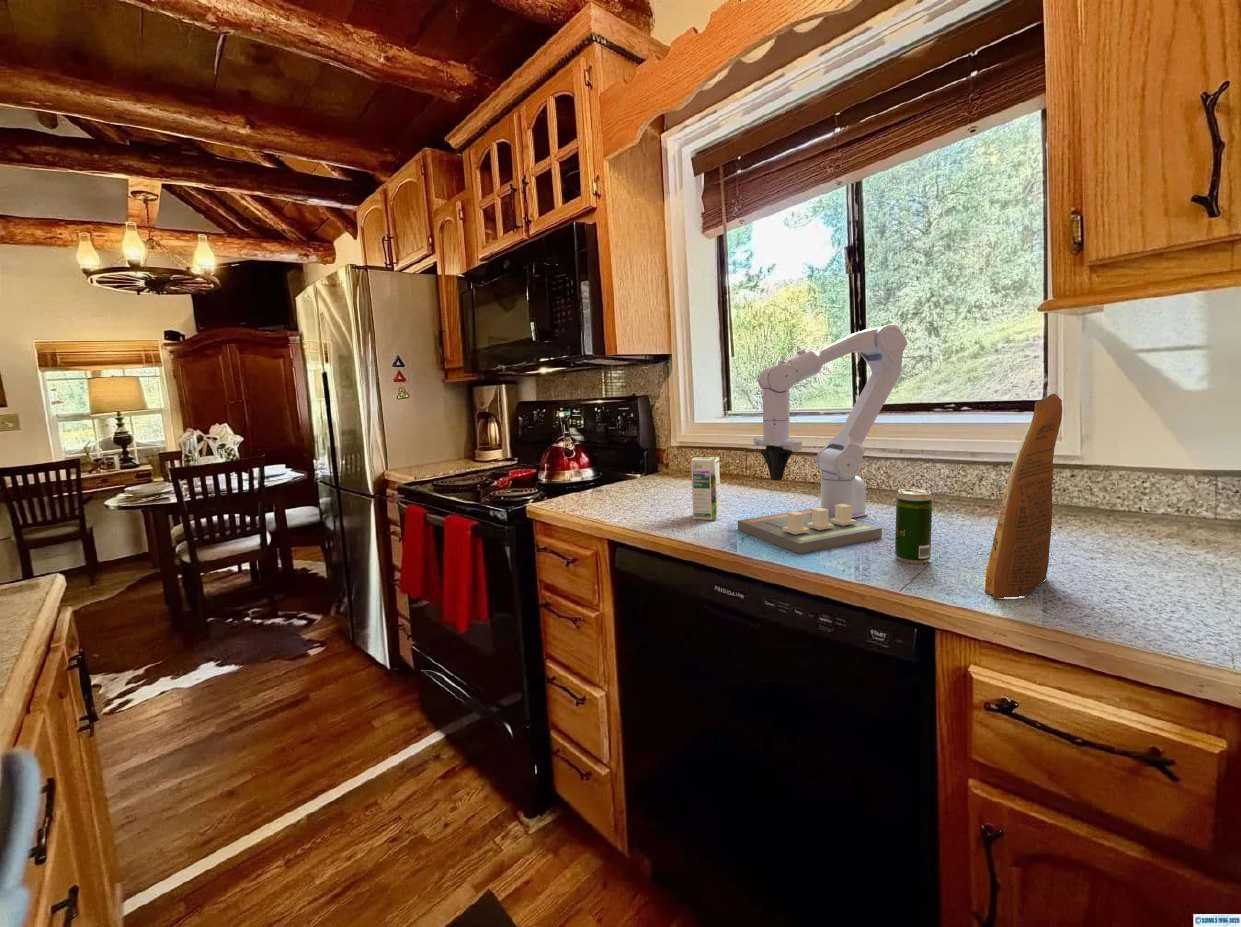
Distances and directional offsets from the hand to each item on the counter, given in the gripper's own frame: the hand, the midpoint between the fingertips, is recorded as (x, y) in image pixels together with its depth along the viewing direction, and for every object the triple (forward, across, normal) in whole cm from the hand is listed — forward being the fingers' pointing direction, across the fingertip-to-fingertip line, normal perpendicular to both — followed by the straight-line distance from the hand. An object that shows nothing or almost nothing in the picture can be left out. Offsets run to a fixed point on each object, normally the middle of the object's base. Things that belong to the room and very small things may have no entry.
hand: (776, 479), depth 122 cm
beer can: (+10, +34, +2) cm, 35 cm away
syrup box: (+10, -11, -12) cm, 19 cm away
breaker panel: (+9, +12, -2) cm, 15 cm away
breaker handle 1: (+7, +16, -8) cm, 19 cm away
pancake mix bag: (+10, +50, +5) cm, 51 cm away
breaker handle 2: (+7, +16, +4) cm, 18 cm away
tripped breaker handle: (+7, +16, -2) cm, 18 cm away
